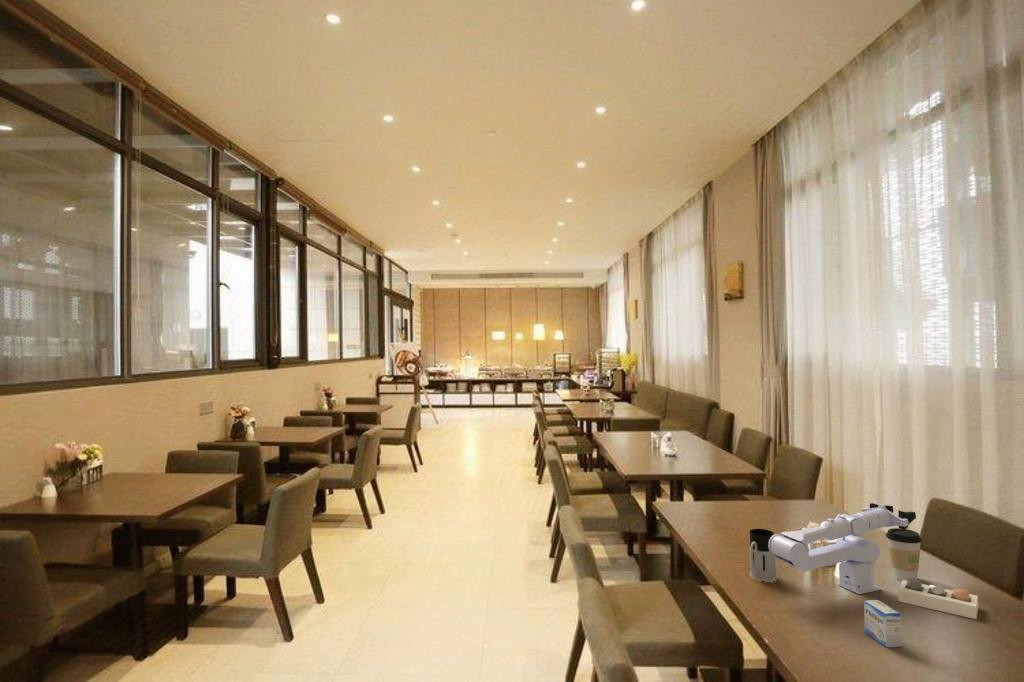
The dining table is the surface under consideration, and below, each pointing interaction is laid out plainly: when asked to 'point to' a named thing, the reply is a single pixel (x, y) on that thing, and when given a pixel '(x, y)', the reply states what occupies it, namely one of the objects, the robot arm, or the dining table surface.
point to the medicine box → (882, 623)
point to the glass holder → (761, 556)
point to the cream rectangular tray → (939, 601)
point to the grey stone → (914, 584)
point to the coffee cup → (904, 552)
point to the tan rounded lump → (960, 594)
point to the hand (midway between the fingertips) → (903, 512)
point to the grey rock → (937, 589)
